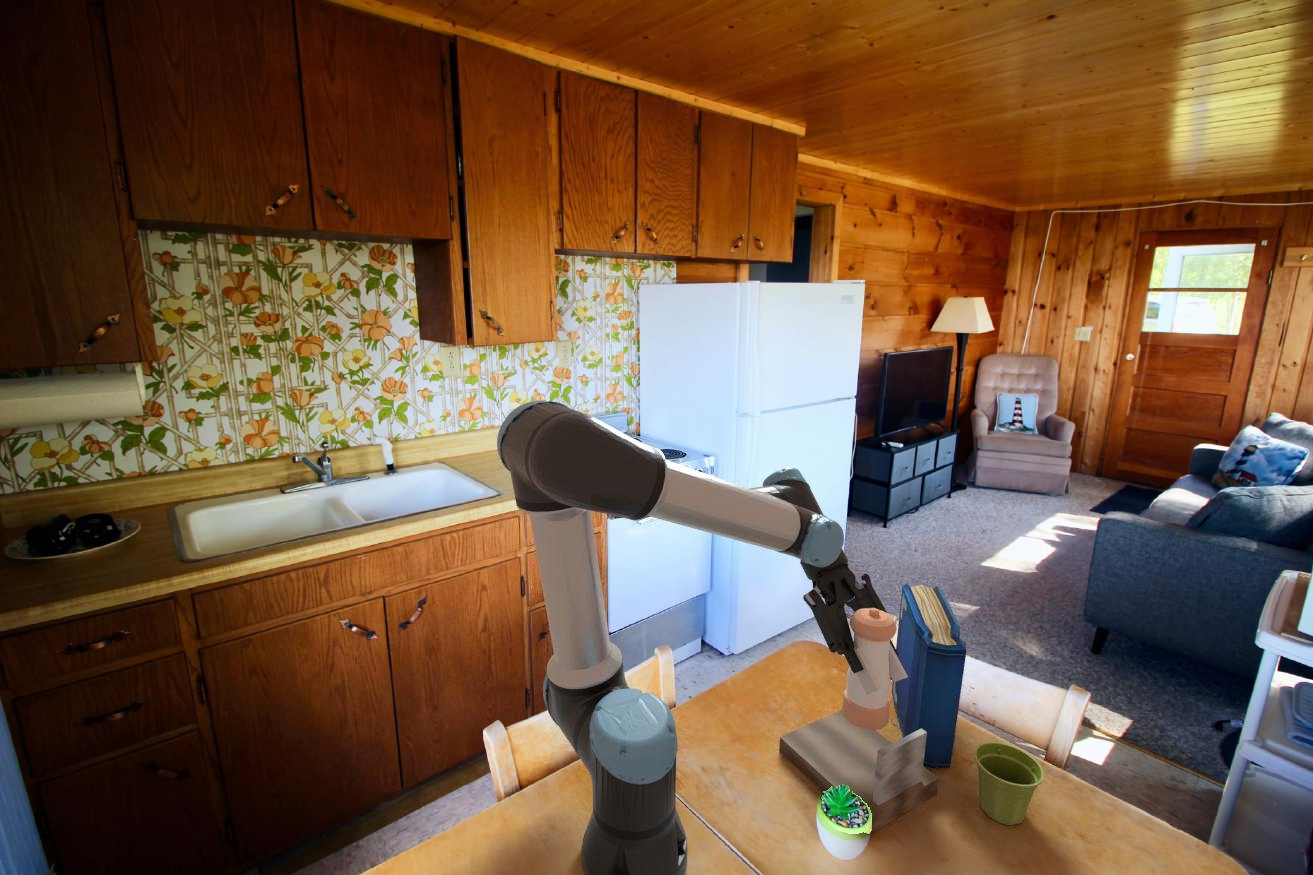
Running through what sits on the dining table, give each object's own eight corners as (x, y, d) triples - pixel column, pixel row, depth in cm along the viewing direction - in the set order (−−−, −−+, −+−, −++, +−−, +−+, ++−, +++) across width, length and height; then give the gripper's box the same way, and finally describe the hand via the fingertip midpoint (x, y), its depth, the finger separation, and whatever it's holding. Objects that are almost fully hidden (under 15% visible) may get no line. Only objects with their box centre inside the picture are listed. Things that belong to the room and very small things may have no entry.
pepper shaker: (843, 726, 98) (851, 617, 94) (841, 698, 105) (848, 595, 101) (891, 733, 97) (902, 623, 92) (886, 704, 104) (895, 600, 99)
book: (956, 779, 103) (973, 644, 97) (911, 772, 104) (925, 639, 99) (927, 698, 123) (940, 583, 118) (890, 694, 125) (901, 580, 119)
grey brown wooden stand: (867, 835, 92) (874, 766, 89) (779, 751, 109) (782, 691, 106) (937, 794, 99) (945, 729, 97) (844, 721, 116) (848, 665, 114)
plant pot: (970, 778, 103) (976, 733, 101) (1036, 801, 98) (1043, 755, 96) (965, 818, 95) (971, 770, 93) (1036, 845, 90) (1044, 795, 88)
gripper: (844, 549, 114) (911, 674, 103) (766, 570, 105) (830, 709, 94) (869, 531, 108) (942, 662, 98) (788, 552, 99) (860, 698, 89)
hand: (887, 685), depth 96 cm, fingers closed on pepper shaker, 5 cm apart
